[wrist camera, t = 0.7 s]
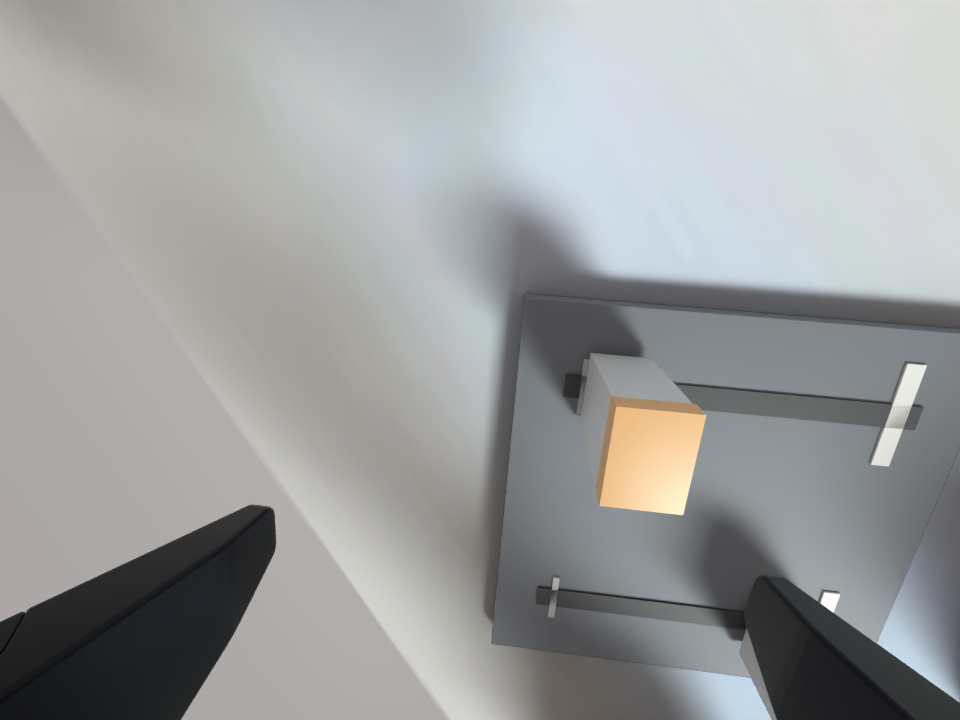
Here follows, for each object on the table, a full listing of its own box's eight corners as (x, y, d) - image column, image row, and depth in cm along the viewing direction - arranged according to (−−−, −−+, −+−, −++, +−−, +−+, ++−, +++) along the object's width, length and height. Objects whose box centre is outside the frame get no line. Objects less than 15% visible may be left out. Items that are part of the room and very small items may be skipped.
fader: (638, 432, 19) (683, 515, 14) (578, 426, 19) (599, 506, 14) (653, 357, 18) (706, 414, 13) (589, 351, 18) (616, 406, 13)
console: (840, 668, 24) (857, 693, 23) (492, 624, 25) (491, 645, 24) (976, 330, 18) (1009, 338, 17) (524, 293, 20) (525, 298, 18)
